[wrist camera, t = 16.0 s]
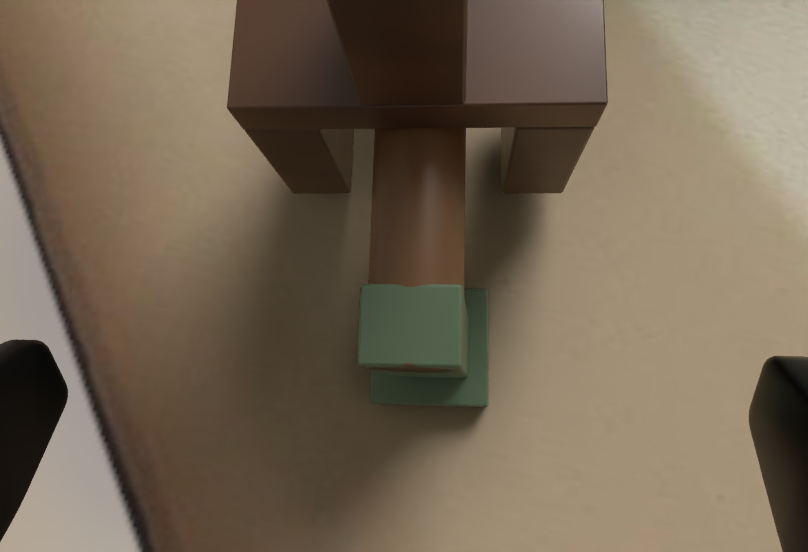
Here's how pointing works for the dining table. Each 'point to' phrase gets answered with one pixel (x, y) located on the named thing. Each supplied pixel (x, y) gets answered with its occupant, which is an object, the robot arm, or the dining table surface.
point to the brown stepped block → (418, 81)
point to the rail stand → (421, 276)
